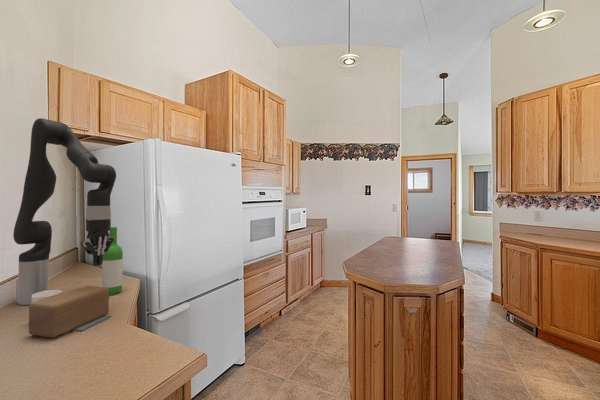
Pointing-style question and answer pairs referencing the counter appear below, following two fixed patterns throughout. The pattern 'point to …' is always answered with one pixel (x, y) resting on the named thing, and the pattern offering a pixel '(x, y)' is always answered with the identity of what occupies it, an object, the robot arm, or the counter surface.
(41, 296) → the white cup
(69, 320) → the wooden block
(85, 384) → the counter surface
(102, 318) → the slate rubber mat
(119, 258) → the wine bottle
